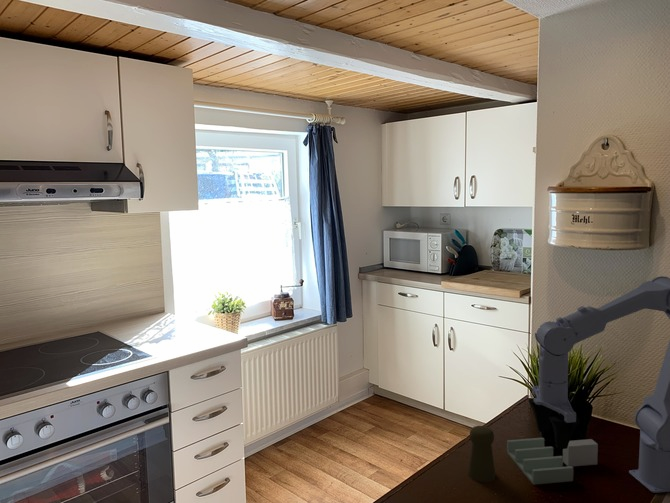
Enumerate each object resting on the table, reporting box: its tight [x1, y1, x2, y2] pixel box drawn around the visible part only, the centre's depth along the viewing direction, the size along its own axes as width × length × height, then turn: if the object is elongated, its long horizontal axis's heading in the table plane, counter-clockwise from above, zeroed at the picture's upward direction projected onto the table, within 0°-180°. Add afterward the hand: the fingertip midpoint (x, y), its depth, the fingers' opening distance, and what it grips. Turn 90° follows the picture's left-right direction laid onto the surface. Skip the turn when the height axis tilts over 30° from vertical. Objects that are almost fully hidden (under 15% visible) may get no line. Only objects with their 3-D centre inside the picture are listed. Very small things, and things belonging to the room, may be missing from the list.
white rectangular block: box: [562, 438, 599, 467], centre depth 120 cm, size 7×2×5 cm, turn 95°
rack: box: [506, 437, 574, 485], centre depth 119 cm, size 9×14×3 cm, turn 5°
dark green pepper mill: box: [467, 425, 496, 483], centre depth 116 cm, size 6×6×11 cm
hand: (552, 439), depth 112 cm, fingers open, 7 cm apart
